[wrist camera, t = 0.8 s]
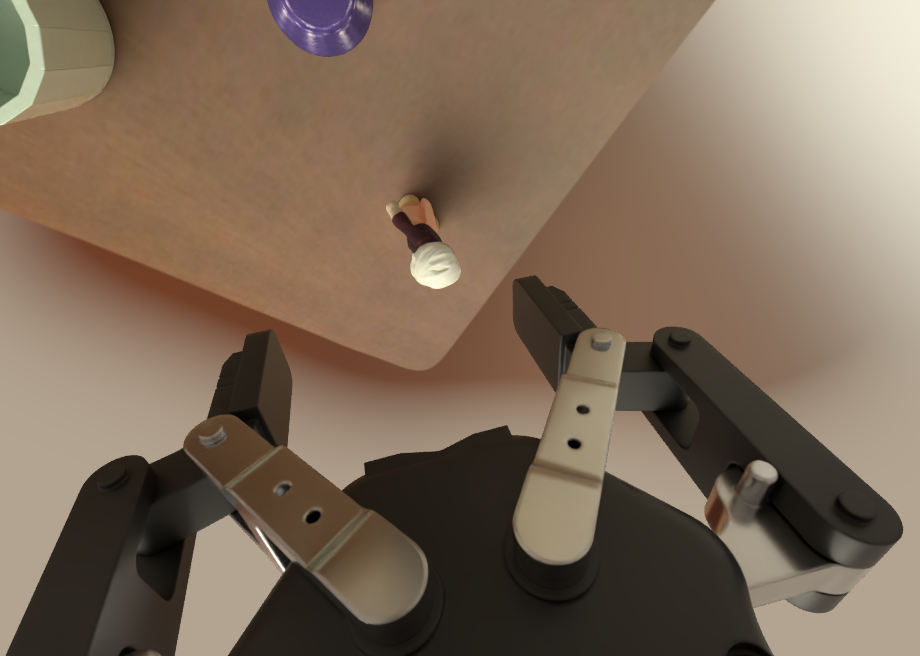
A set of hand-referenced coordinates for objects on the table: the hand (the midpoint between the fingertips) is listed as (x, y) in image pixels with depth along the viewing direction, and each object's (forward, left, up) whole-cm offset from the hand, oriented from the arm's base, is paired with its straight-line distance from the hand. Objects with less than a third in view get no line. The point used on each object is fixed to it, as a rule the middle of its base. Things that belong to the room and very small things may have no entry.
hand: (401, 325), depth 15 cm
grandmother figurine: (+5, +4, -26) cm, 27 cm away
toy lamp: (-10, 0, -26) cm, 28 cm away
